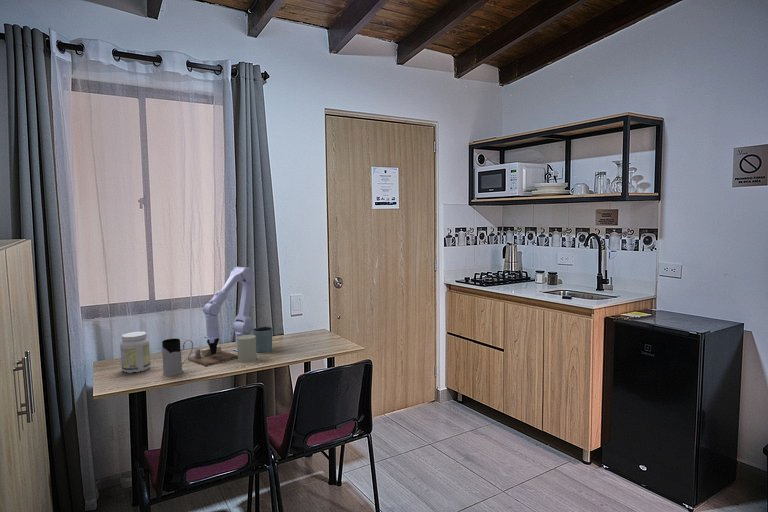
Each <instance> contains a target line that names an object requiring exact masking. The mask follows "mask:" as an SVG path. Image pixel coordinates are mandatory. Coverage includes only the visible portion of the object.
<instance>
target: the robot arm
mask: <svg viewBox="0 0 768 512" xmlns="http://www.w3.org/2000/svg"><path fill="white" fill-rule="evenodd" d="M238 282H240V283H241V285H242V290H241V295H240V296H241V297H240V302H239V307H238V314H237V315H236V316H235V318H234V321H233V322H232V326H231V328H232V330H233V331H234V334H235V348H233V349H232V351H234V350H235V352H238V349H237V337H238V336H241V335H253V319H252V318H251V316H250V311H251V306H252V300H253V299H252V298H253V292H254V285H255V281H254V271H253V270H252V269H251V267H249V266H247V267H242V266H235V267H234V268H233V269H232V270H231V272H230V274H229V277H228V279H227V280H226V282H225V283H224V285H223V286H222V287H221V290H217V291H215V292H214V295H213V296H212V297H211V299H210V300H209V301H208V302H207V303H206V304H204V306H203V309H202V312H203V314H204V317H205V328H206V335H204V337H203V338H204V339H207V340H206V343H207V345H208V348H210V351H211V354H216V351H217V346H218V343H219V342H220V338H219V337H220V332H219V330H220V329H219V313H220V312H221V308H222V305H223V304H224V303H225V301H226V300H227V299H228V293H229V292H230V291H231V289H232V288H233V287H234V286H235V284H236V283H238Z"/></svg>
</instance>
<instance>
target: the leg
mask: <svg viewBox="0 0 768 512" xmlns="http://www.w3.org/2000/svg"><path fill="white" fill-rule="evenodd" d="M221 350H222V349H221V345H217V351H216V353H218V352H221ZM200 355H201V356H207V355H211V351H210V347H207V348H202V349H200Z"/></svg>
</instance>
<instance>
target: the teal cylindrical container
mask: <svg viewBox="0 0 768 512" xmlns="http://www.w3.org/2000/svg"><path fill="white" fill-rule="evenodd" d="M252 332H253V335H255V336H256V354H269V353H271V352H273V332H274V329H273V327H271V326H260V327H255V328H252ZM268 352H269V353H268Z"/></svg>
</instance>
